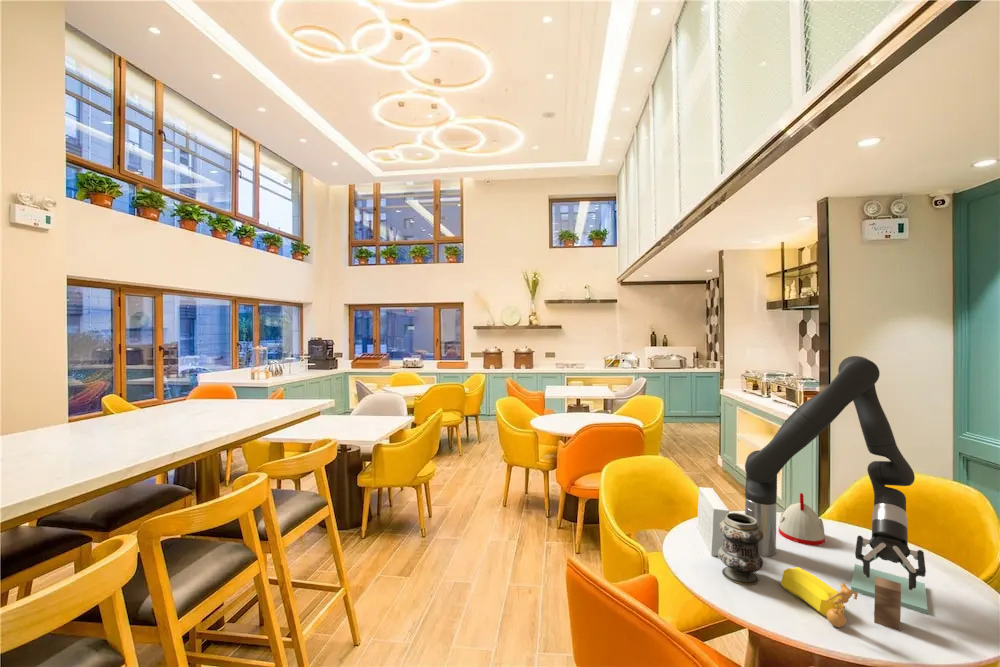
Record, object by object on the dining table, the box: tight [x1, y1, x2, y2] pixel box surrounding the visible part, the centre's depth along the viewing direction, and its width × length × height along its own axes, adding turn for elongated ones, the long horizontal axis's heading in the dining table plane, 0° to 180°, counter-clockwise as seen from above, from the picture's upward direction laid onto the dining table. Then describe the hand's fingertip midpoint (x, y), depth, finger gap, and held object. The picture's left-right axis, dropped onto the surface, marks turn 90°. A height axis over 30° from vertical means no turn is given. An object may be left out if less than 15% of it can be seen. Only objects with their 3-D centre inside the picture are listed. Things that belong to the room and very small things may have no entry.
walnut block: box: [873, 577, 902, 632], centre depth 116 cm, size 5×5×10 cm
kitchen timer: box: [778, 492, 826, 546], centre depth 162 cm, size 14×14×15 cm
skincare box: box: [696, 486, 730, 557], centre depth 158 cm, size 21×6×16 cm, turn 168°
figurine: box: [826, 582, 859, 628], centre depth 113 cm, size 8×6×12 cm
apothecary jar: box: [717, 512, 764, 586], centre depth 136 cm, size 12×12×18 cm
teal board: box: [850, 563, 929, 615], centre depth 130 cm, size 16×16×1 cm
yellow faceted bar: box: [780, 566, 845, 617], centre depth 125 cm, size 18×7×8 cm
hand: (888, 582), depth 118 cm, fingers open, 8 cm apart
